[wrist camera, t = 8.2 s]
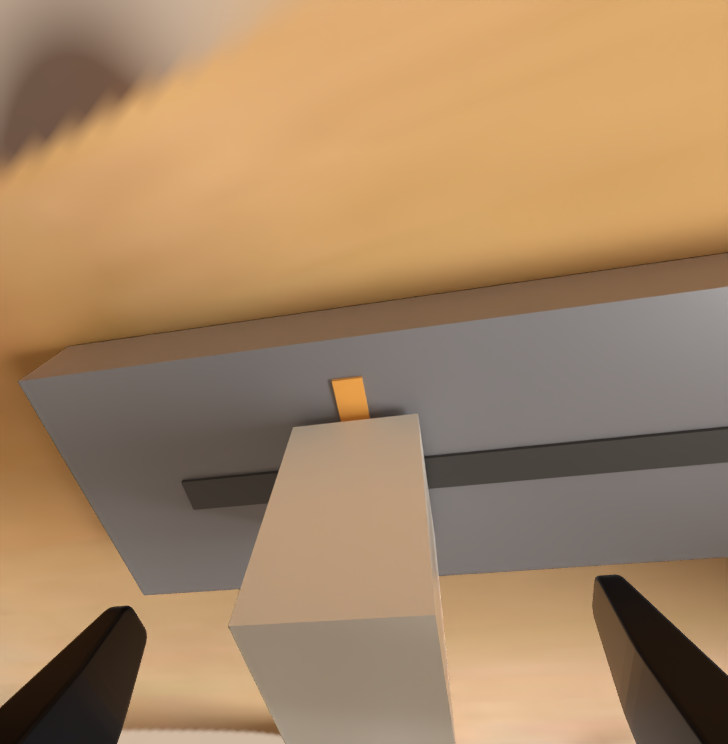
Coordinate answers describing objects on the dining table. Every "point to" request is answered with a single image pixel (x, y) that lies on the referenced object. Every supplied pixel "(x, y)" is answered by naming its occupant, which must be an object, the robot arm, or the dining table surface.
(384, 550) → the fader cap
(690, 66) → the dining table surface
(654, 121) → the dining table surface
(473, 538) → the console
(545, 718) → the dining table surface
